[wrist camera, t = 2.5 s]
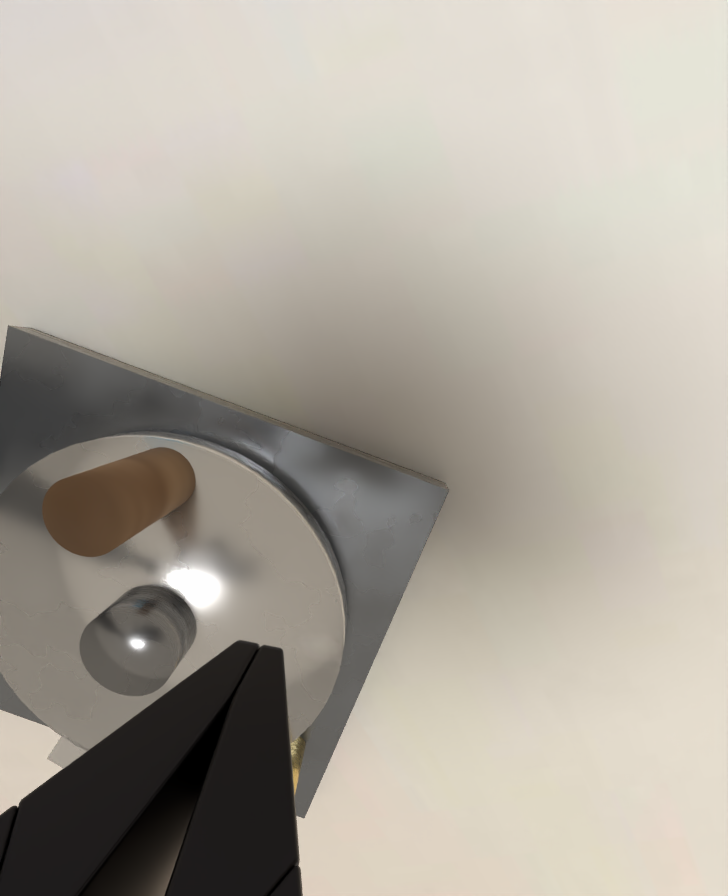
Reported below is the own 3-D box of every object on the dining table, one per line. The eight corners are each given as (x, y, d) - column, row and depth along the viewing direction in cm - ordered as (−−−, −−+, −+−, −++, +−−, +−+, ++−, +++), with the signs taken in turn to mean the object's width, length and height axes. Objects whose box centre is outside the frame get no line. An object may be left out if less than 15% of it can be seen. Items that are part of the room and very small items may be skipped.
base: (-26, 677, 20) (-125, 750, 16) (31, 328, 16) (-83, 314, 12) (308, 797, 20) (289, 897, 17) (445, 483, 16) (463, 518, 13)
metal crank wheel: (-25, 707, 19) (-176, 830, 14) (30, 374, 15) (-148, 377, 10) (275, 814, 19) (234, 975, 14) (401, 512, 16) (408, 582, 10)
